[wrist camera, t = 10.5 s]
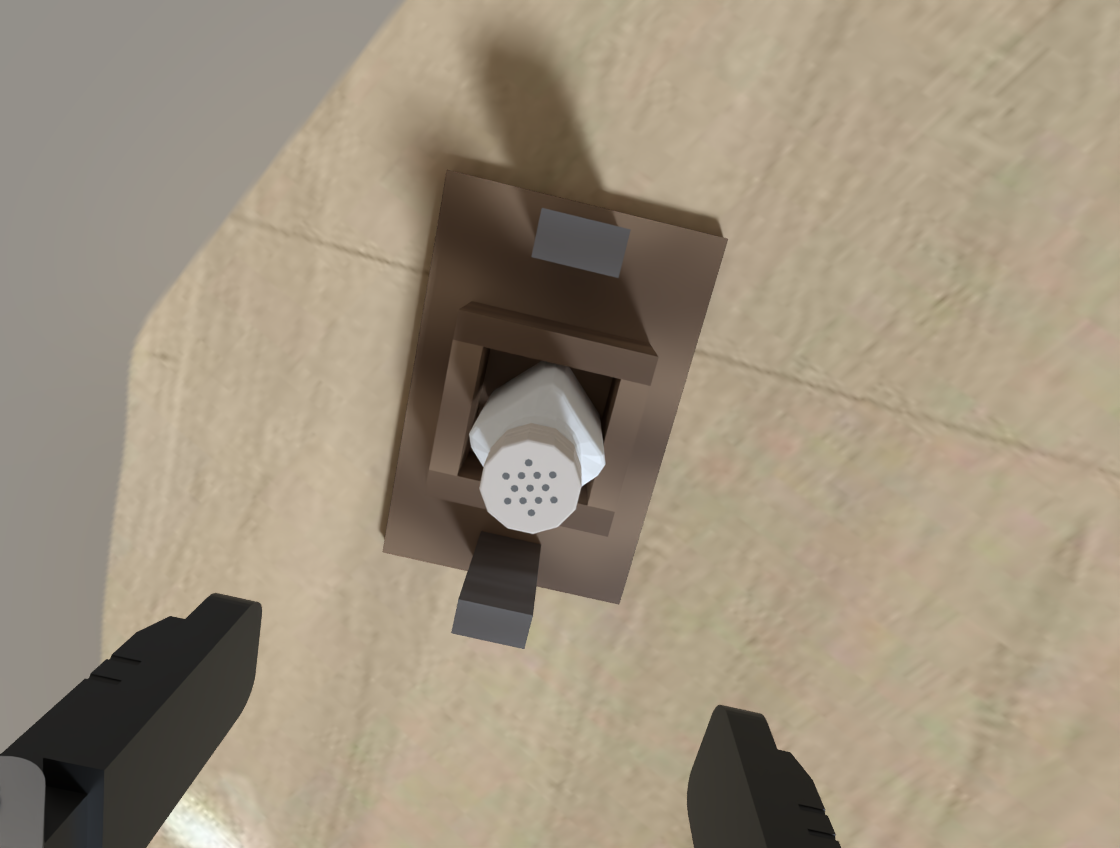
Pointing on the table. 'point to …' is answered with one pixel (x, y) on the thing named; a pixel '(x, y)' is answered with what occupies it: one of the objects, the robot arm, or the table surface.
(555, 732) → the table surface
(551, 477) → the pepper shaker
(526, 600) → the shaker holder
